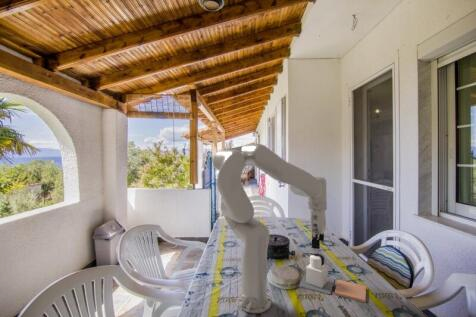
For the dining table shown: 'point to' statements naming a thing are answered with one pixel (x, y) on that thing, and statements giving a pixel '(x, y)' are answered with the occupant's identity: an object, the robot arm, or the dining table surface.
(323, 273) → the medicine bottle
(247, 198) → the robot arm
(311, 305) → the dining table surface
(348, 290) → the terracotta pad
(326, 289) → the tile
